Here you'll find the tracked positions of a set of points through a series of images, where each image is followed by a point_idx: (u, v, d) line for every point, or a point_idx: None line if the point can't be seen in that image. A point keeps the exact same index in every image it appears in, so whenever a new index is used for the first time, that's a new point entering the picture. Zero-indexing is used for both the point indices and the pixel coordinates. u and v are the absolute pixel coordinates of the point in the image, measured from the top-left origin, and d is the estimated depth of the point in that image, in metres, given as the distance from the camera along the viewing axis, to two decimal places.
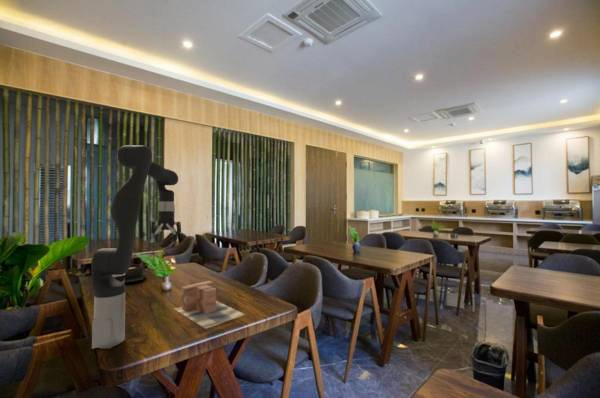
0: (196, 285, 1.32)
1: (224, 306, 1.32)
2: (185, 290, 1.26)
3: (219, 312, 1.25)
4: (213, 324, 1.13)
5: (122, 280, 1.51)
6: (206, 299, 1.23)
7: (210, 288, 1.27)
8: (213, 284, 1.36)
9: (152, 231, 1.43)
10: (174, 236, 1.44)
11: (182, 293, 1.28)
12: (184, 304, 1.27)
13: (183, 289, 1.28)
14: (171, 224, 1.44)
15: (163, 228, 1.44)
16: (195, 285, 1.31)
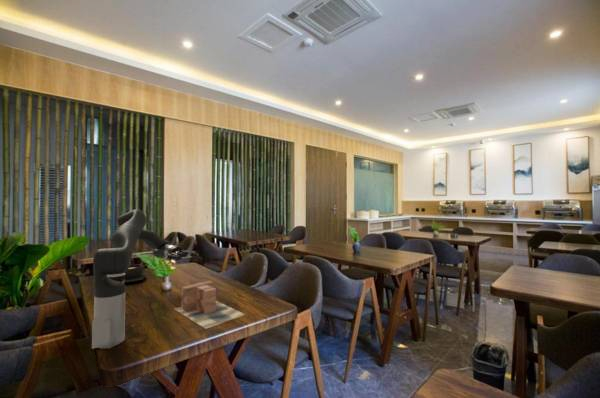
0: (196, 285, 1.32)
1: (224, 306, 1.32)
2: (185, 290, 1.26)
3: (219, 312, 1.25)
4: (213, 324, 1.13)
5: (122, 280, 1.51)
6: (206, 299, 1.23)
7: (210, 288, 1.27)
8: (213, 284, 1.36)
9: (170, 254, 1.40)
10: (194, 253, 1.46)
11: (182, 293, 1.28)
12: (184, 304, 1.27)
13: (183, 289, 1.28)
14: None
15: (180, 253, 1.45)
16: (195, 285, 1.31)
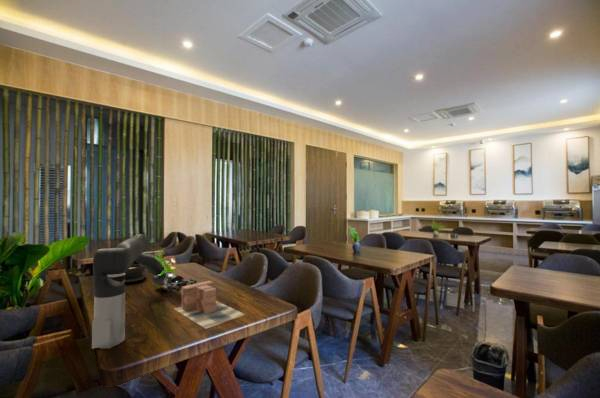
0: (196, 285, 1.32)
1: (224, 306, 1.32)
2: (185, 290, 1.26)
3: (219, 312, 1.25)
4: (213, 324, 1.13)
5: (122, 280, 1.51)
6: (206, 299, 1.23)
7: (210, 288, 1.27)
8: (213, 284, 1.36)
9: (170, 285, 1.39)
10: (193, 282, 1.45)
11: (182, 293, 1.28)
12: (184, 304, 1.27)
13: (183, 289, 1.28)
14: None
15: (179, 283, 1.44)
16: (195, 285, 1.31)
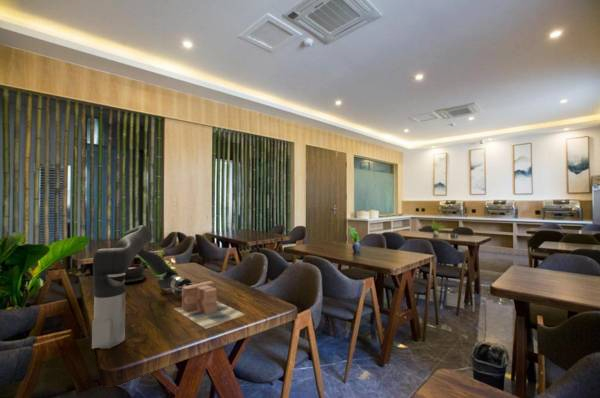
0: (196, 285, 1.32)
1: (224, 306, 1.32)
2: (186, 290, 1.26)
3: (219, 312, 1.25)
4: (213, 324, 1.13)
5: (122, 280, 1.51)
6: (206, 300, 1.23)
7: (211, 288, 1.27)
8: (214, 284, 1.35)
9: (178, 289, 1.33)
10: None
11: (183, 293, 1.28)
12: (184, 305, 1.27)
13: (184, 289, 1.27)
14: (193, 284, 1.42)
15: None
16: (196, 285, 1.31)
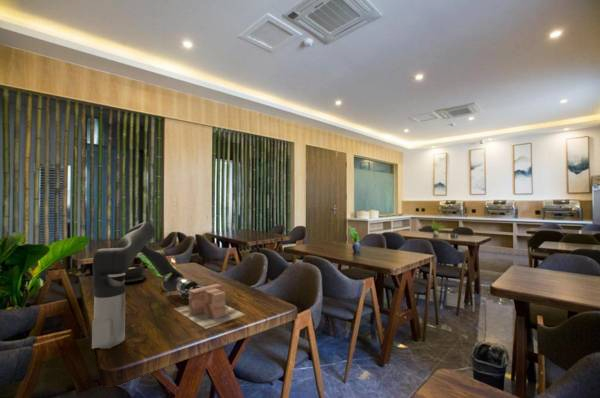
0: (204, 288, 1.27)
1: None
2: (193, 294, 1.21)
3: None
4: (213, 324, 1.13)
5: (122, 280, 1.51)
6: (215, 304, 1.18)
7: (219, 292, 1.22)
8: (222, 287, 1.31)
9: (184, 292, 1.28)
10: None
11: (190, 297, 1.23)
12: (192, 309, 1.22)
13: (191, 293, 1.23)
14: None
15: None
16: (203, 288, 1.26)
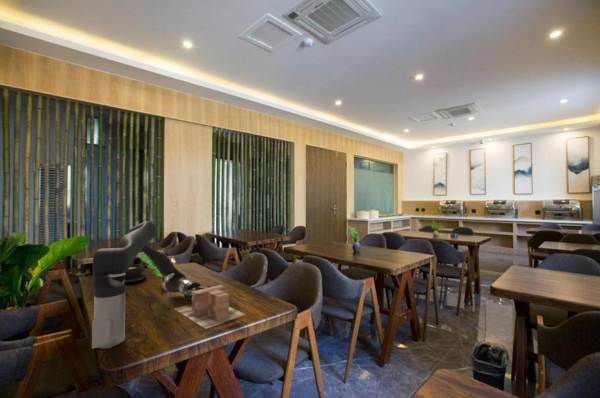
0: (207, 289, 1.25)
1: None
2: (196, 295, 1.20)
3: None
4: (213, 324, 1.13)
5: (122, 280, 1.51)
6: (218, 305, 1.16)
7: (222, 293, 1.20)
8: (225, 289, 1.29)
9: (187, 293, 1.26)
10: None
11: (193, 298, 1.22)
12: (195, 310, 1.20)
13: (194, 294, 1.21)
14: None
15: None
16: (206, 290, 1.25)
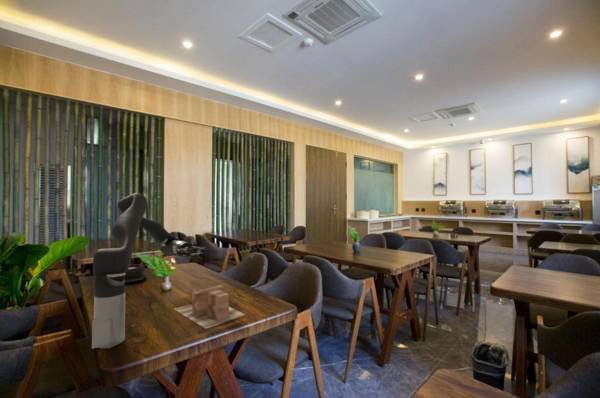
0: (207, 289, 1.25)
1: None
2: (196, 295, 1.20)
3: None
4: (213, 324, 1.13)
5: (122, 280, 1.51)
6: (218, 305, 1.16)
7: (222, 293, 1.20)
8: (225, 289, 1.29)
9: (180, 250, 1.32)
10: None
11: (193, 298, 1.22)
12: (195, 310, 1.20)
13: (194, 294, 1.21)
14: None
15: (189, 249, 1.37)
16: (206, 290, 1.25)
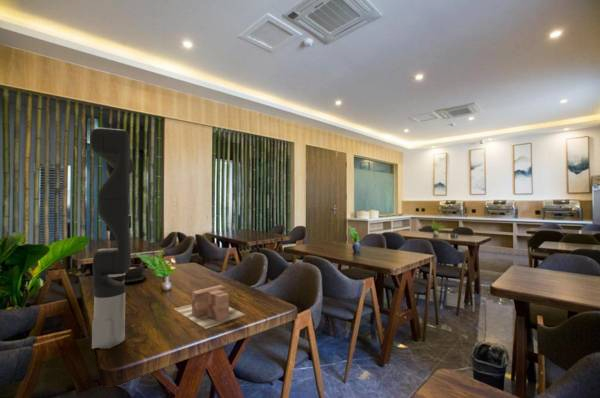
0: (207, 289, 1.25)
1: None
2: (196, 295, 1.20)
3: None
4: (213, 324, 1.13)
5: (122, 280, 1.51)
6: (218, 305, 1.16)
7: (222, 293, 1.20)
8: (225, 289, 1.29)
9: None
10: None
11: (193, 298, 1.22)
12: (195, 310, 1.20)
13: (194, 294, 1.21)
14: None
15: None
16: (206, 290, 1.25)
